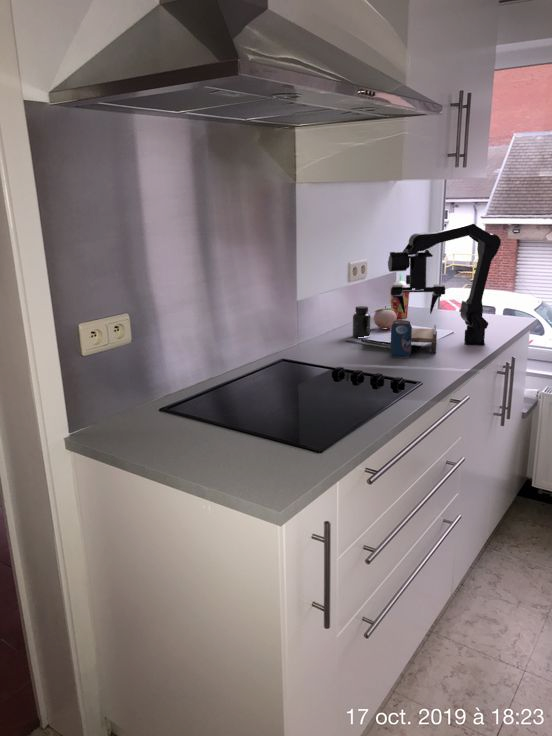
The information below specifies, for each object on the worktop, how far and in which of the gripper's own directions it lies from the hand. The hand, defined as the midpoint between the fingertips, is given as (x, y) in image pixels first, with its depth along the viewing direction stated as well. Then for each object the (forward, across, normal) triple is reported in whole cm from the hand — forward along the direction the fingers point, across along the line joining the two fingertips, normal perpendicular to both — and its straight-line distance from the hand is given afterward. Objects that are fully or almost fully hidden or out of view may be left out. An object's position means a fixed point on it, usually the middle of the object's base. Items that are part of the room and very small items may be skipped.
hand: (417, 313), depth 223 cm
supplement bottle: (+12, +21, -12) cm, 27 cm away
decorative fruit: (+12, +13, -25) cm, 31 cm away
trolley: (+12, 0, +3) cm, 12 cm away
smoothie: (+12, +8, -47) cm, 49 cm away
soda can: (+12, +6, +16) cm, 21 cm away
